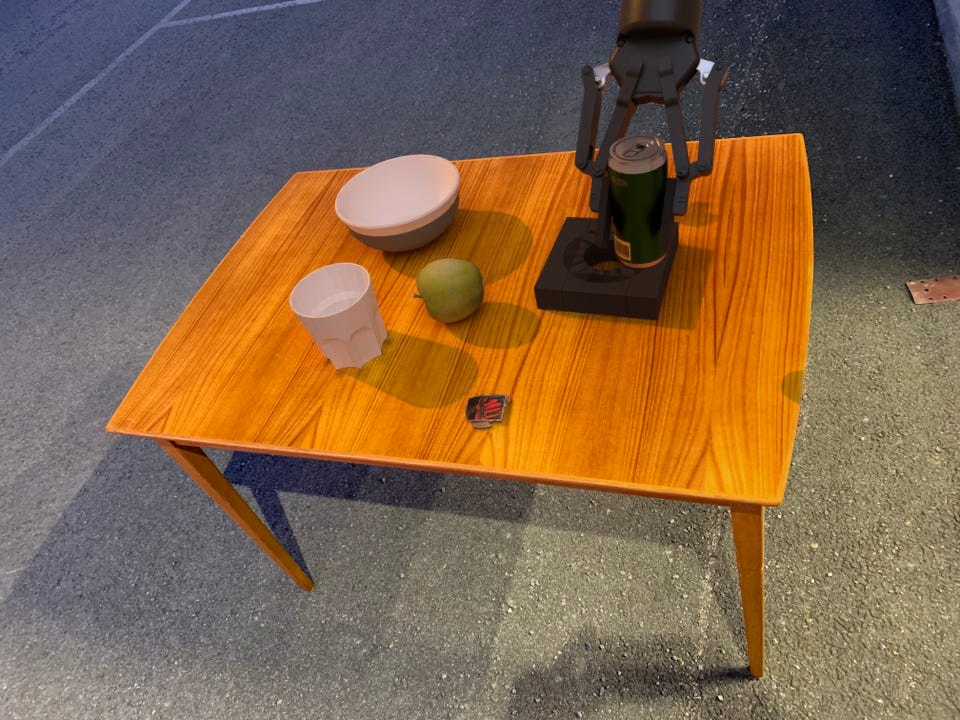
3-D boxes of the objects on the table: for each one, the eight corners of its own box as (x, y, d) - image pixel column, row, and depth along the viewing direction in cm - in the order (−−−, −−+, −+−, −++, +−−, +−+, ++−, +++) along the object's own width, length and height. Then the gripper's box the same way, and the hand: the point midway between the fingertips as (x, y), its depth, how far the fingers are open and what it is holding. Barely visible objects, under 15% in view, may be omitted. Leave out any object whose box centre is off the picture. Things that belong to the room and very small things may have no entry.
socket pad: (678, 243, 92) (678, 221, 89) (656, 320, 83) (656, 298, 80) (569, 237, 97) (566, 216, 95) (537, 308, 88) (533, 287, 86)
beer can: (647, 276, 69) (643, 169, 60) (604, 258, 72) (594, 155, 64) (679, 247, 71) (679, 140, 62) (636, 231, 74) (630, 127, 66)
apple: (417, 307, 93) (400, 259, 88) (481, 286, 94) (468, 238, 88) (428, 343, 88) (411, 296, 82) (496, 321, 88) (484, 272, 83)
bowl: (470, 190, 111) (458, 143, 106) (472, 260, 98) (459, 211, 92) (358, 212, 114) (341, 167, 108) (346, 283, 100) (326, 237, 95)
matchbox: (464, 400, 80) (463, 397, 79) (508, 391, 79) (508, 388, 79) (467, 431, 76) (466, 428, 76) (513, 422, 76) (512, 420, 76)
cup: (306, 349, 92) (276, 293, 85) (369, 310, 95) (345, 252, 88) (341, 388, 85) (312, 329, 78) (407, 344, 88) (385, 285, 82)
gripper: (766, 11, 65) (735, 259, 67) (576, 23, 72) (552, 247, 74) (766, -29, 58) (731, 249, 60) (556, -11, 65) (529, 237, 67)
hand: (632, 248), depth 67 cm, fingers closed on beer can, 5 cm apart
